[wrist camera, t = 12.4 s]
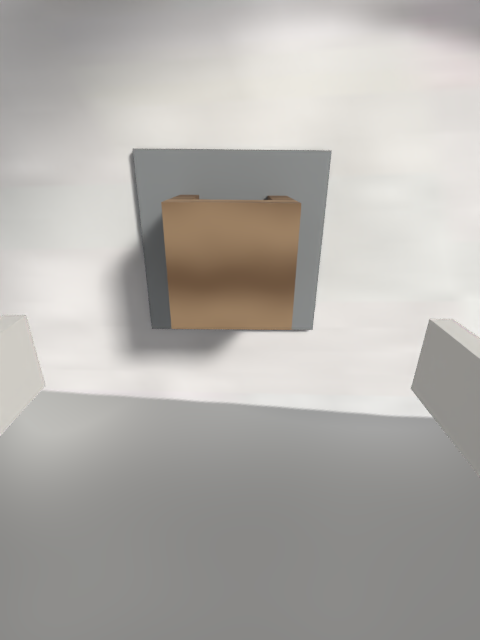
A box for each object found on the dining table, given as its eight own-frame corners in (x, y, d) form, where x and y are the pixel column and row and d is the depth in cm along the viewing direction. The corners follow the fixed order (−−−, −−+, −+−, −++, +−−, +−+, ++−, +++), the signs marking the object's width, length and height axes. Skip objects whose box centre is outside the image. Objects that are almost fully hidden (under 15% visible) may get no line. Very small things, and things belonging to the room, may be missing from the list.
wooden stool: (180, 194, 28) (161, 202, 21) (286, 195, 28) (301, 203, 22) (186, 295, 32) (171, 328, 25) (280, 295, 32) (291, 329, 25)
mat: (134, 149, 27) (132, 148, 27) (330, 151, 27) (331, 150, 27) (153, 326, 34) (152, 328, 33) (311, 328, 34) (312, 329, 33)
